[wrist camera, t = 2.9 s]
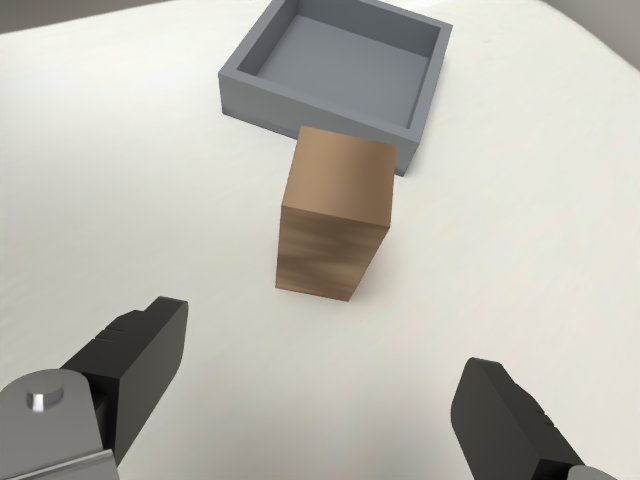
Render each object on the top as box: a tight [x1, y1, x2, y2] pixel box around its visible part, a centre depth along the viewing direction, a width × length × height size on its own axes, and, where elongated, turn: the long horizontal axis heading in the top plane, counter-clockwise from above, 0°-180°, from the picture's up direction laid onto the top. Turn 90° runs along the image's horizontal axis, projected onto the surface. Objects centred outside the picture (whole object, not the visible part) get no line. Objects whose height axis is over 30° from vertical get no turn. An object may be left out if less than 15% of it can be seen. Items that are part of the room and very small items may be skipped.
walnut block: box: [275, 126, 396, 302], centre depth 23 cm, size 5×5×10 cm
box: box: [218, 0, 453, 177], centre depth 35 cm, size 16×16×4 cm
